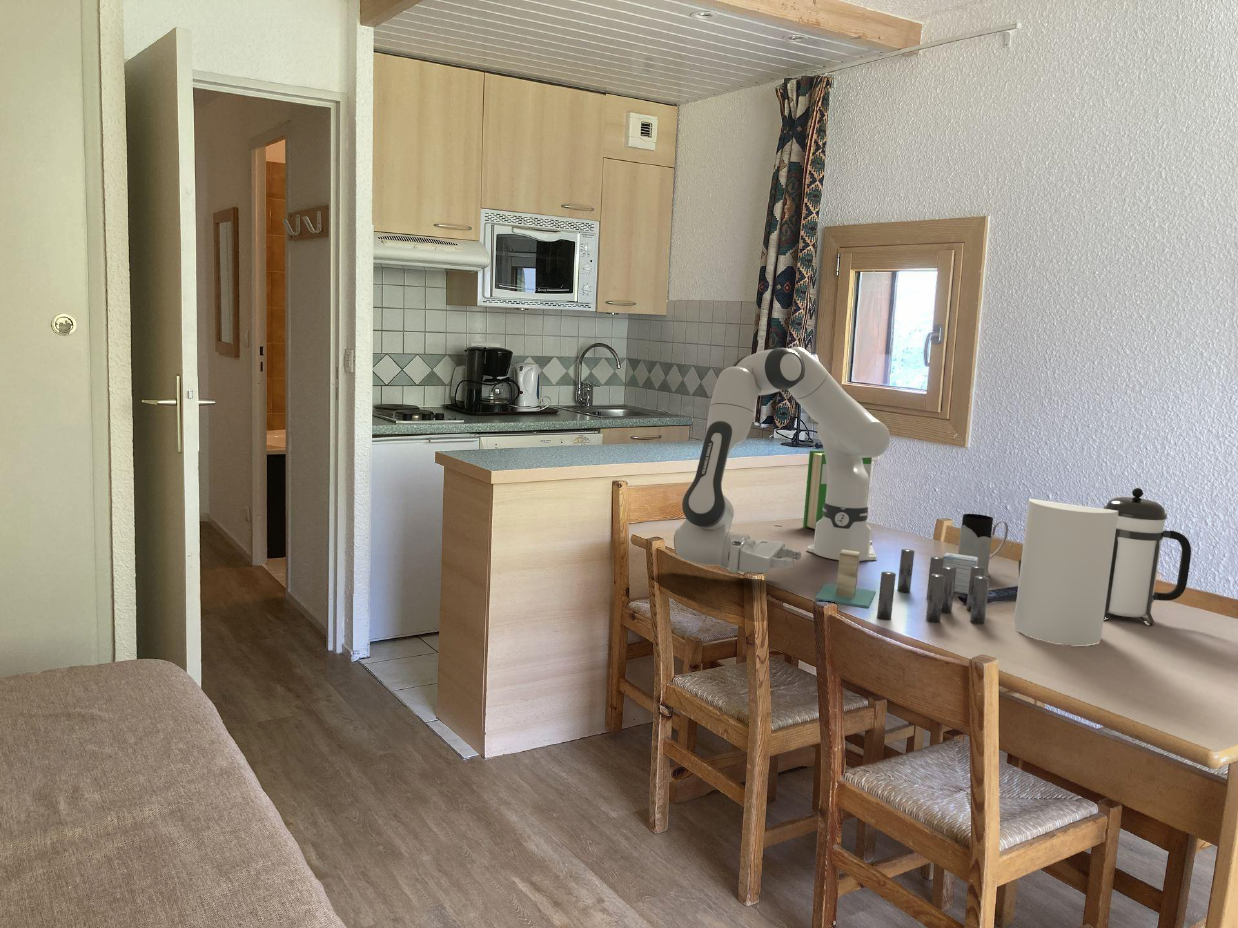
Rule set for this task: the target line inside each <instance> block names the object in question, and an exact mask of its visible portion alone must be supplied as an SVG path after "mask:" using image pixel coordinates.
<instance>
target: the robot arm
mask: <svg viewBox="0 0 1238 928" xmlns="http://www.w3.org/2000/svg"><path fill="white" fill-rule="evenodd" d="M781 391H788V392H789V393H790V395H791V396H792V397H793V399H794V400H795V401H796V402H797V403H798V404H799V405H800V406H801V408H802V409H803V410H804V411H805V413H806V414H807V415H808V416H809V417H810V418H811V419H812V420H813V421H815V422H816V423H817V424H818V425H817V429H816V434H817V437H818V439H819V440H820V442H821V444H822V447H823V451H824V453H825V459H826V465H827V489H826V502H824V506H823V518H822V519H821V520H819V521H818V522H817V523H816V529H814V538H813V544H811V545H808V546H807V547H806V551H807V552H809V553H812V554H815V555H817V556H820V557H822V558H827V559H830V560H836V561H839V557H840V552H841V551H842V550H849V551H857V552H860V554H859V562H862V561H877V555H876V552H875V549H874V546H873V542H872V540H871V536H872V528H871V526H870V525H868V522H867V520H868V516H869V507H868V501H867V499H868V498H869V491H868V488H869V489H870V481H869V477H868V474H867V473H866V471H865V468H864V465H863V460H862V458H870V457H872V458H877V457H880V456H881V455H883V454H884V453H885V452H886V451H887V450H888V447H889V445H890V443H891V434H890V430H889V428H888V426H886V424H885V423H883V422H882V421H880V420H879V419H877V418H876V417H875V416H874V415H872V414H871V413H870V412H869V411H868V410H867V409H866V408H865V407H864V406H862V405H861V404H860V403H859V401H857V400H855V399H854V398H853V397H851V395H849V394H848V393H847V392H846V391H845V390H844V389H843V387H842V386H841V385H840V384H839V383H838V382H837V381H836V379H835V378H834V377H833V376H832V375H831V374H830V373H829V372H828V370H827V369H826V368H825V366H824V365H823V364H822V363H821V362H820V361H819V360H818V359H817V358H815V357H814V355H812V354H811V353H810V352H809V351H807V350H806V349H805V348H803V347H800V346H793V347H791V348H786V347H777V348H776V347H775V348H774V349H765V350H761V351H757V352H756V353H753V354H750V355H746V356H743V357H741V358H739V359H738V360H736V361H735V362H734V363H733V365H732V366H729V367H727V368H724V369H723V370H722V371H721V372H720V373H719V375H718V378H717V380H716V383H715V385H714V388H713V391H712V396H711V399H710V403H709V409H708V414H707V422H706V429H705V437H704V441H703V445H702V449H701V453H700V456H699V461H698V464H697V468H696V473H695V476H694V479H693V481H692V483H691V485H690V486H689V487H688V489H687V490H686V491H685V493H684V496H683V497H682V503H681V505H682V512H683V515H684V517H685V518H686V519H685V520H684V521H683V522H682V524H681V525H680V526H679V527H678V528H676V529H675V532H674V536H673V547H674V551H675V554H676V555H677V557H678V558H679V559H680V558H682V559H684V560H688V561H692V562H694V563H693V564H695V563H698V564H697V565H701V566H706V567H709V566H710V567H711V566H718V567H720V568H723V569H728V572H729V573H733V574H734V573H736V574H737V573H740V572H744V573H753V574H754V573H755V574H766V573H769V572H770V571H771V570H772V569H773V568H774V569H784V568H786V569H792V568H793V567H794V563H795V560H797V561H798V560H800V559H801V558H802V552H801V551H800V550H799V551H798V550H794V549H792V548H787V547H786V543H785V542H784V541H780V540H772V539H771V540H770V539H755V540H752V539H751V536H750V535H749V534H746V533H739V532H738V533H737V532H732V531H730V529H731V527H732V522H733V519H734V517H735V516H734V515H735V514H734V513H735V512H734V511H735V510H734V506H733V505H732V502H731V501H730V500H729V499H728V498H727V497H726V496H725V495H724V492H723V489H722V483H723V480H724V474H725V469H726V465H727V462H728V461H727V460H728V457H729V454H730V452H731V450H732V449H733V448H734V447H735V446H738V445H739V444H741V443H744V441H745V440H746V439H747V437H748V435H749V432H750V430H751V427H752V423H753V418H754V414H755V407H756V400H757V398H758V397H759V396H766V395H772V394H774V393H778V392H781ZM868 500H869V499H868ZM783 558H784V559H783ZM789 558H790V559H789ZM682 559H681V560H682ZM684 560H683V561H684Z"/></svg>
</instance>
